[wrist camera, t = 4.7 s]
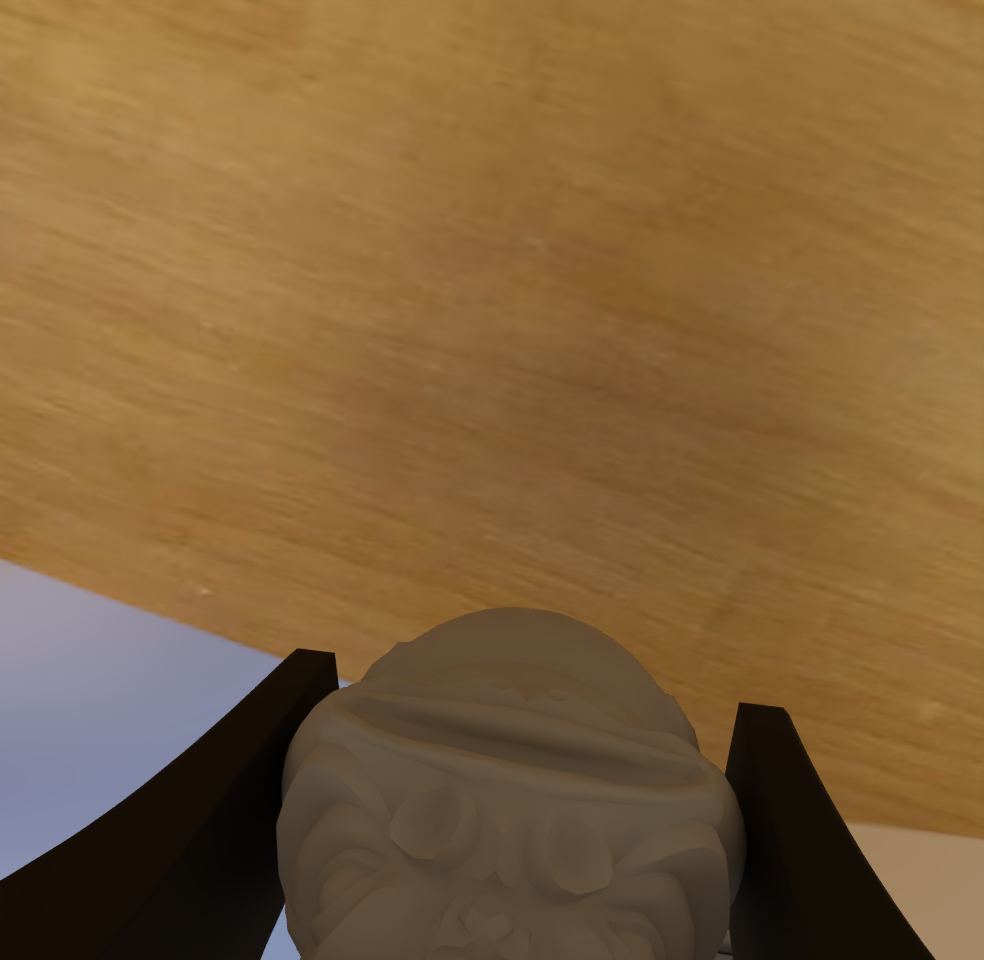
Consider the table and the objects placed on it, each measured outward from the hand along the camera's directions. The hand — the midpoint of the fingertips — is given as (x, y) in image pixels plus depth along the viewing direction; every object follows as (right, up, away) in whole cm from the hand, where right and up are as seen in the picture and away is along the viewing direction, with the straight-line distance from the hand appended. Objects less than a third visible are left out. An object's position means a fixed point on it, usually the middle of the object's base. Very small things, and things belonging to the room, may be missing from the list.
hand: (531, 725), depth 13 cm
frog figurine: (0, +1, +2) cm, 2 cm away
